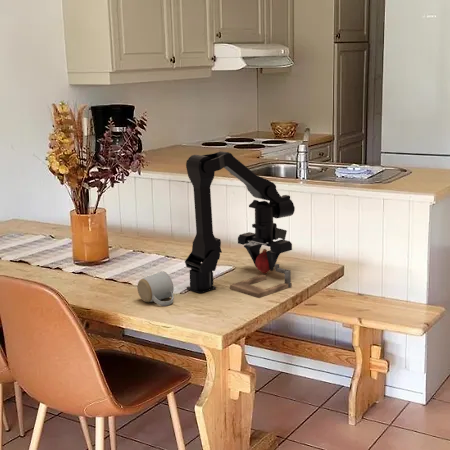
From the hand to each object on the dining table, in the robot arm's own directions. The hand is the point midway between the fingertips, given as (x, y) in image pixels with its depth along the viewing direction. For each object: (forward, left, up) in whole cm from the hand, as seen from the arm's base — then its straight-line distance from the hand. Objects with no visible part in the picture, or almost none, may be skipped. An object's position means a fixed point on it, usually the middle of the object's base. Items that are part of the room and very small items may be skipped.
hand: (264, 268), depth 223 cm
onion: (0, 0, -2) cm, 2 cm away
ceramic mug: (-39, +4, -2) cm, 39 cm away
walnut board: (-11, -9, -2) cm, 14 cm away
